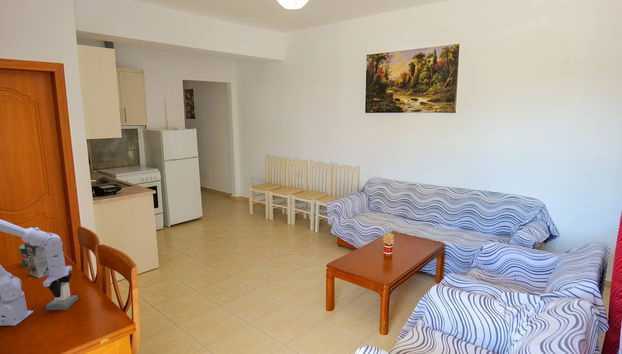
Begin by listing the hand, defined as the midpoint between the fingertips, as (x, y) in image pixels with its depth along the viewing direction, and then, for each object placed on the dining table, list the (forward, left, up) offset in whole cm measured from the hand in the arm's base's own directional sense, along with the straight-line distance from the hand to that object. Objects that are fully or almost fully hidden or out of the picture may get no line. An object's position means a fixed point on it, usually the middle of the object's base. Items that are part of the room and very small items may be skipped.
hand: (61, 294), depth 154 cm
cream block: (0, 0, -2) cm, 2 cm away
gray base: (0, 0, -5) cm, 5 cm away
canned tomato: (+38, +42, -5) cm, 57 cm away
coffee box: (+28, +30, -5) cm, 42 cm away
